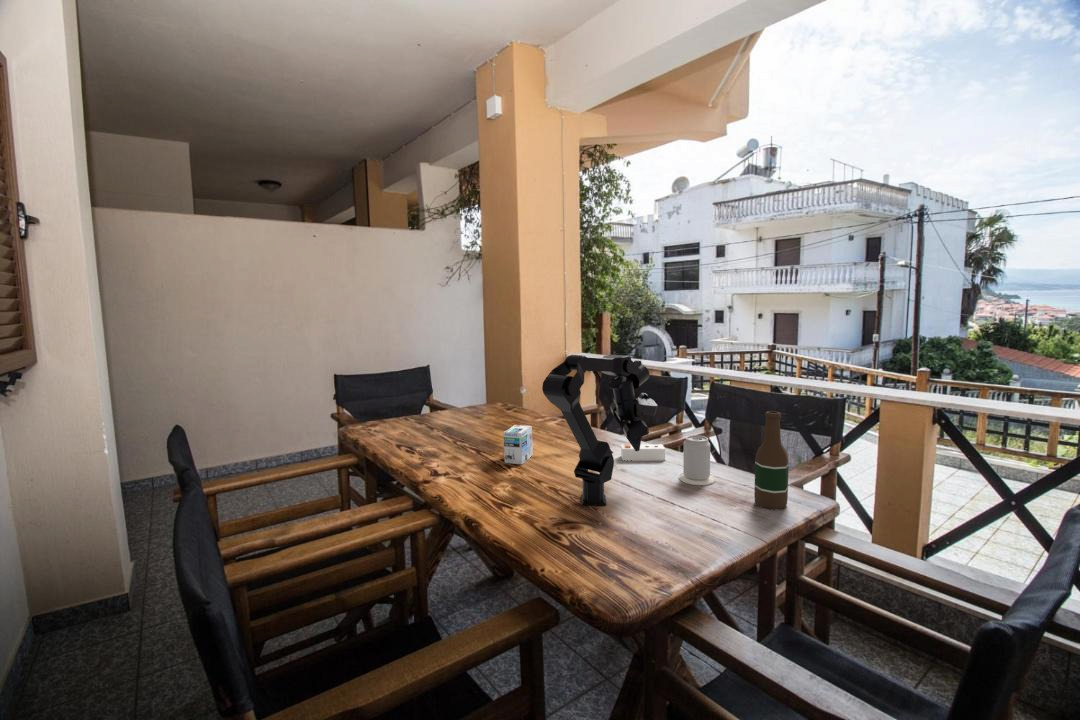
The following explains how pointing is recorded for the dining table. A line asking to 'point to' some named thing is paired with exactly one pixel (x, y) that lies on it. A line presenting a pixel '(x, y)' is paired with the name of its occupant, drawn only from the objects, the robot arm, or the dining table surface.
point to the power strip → (643, 453)
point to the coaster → (692, 482)
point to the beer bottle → (771, 467)
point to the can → (696, 458)
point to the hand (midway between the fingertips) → (632, 442)
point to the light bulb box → (518, 444)
